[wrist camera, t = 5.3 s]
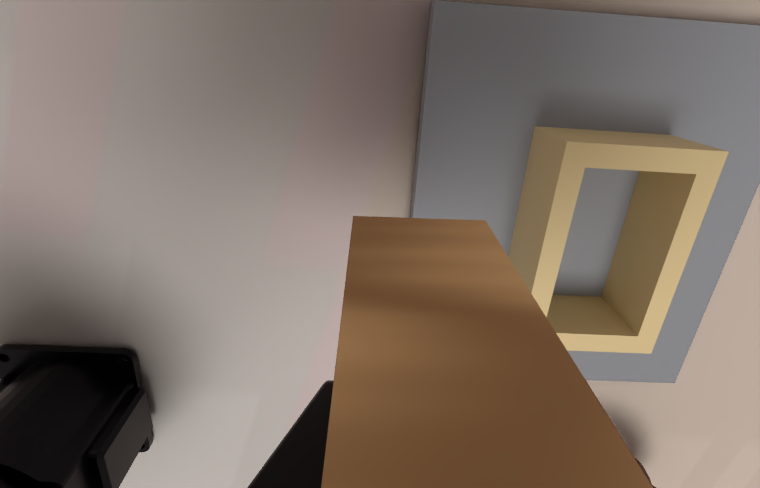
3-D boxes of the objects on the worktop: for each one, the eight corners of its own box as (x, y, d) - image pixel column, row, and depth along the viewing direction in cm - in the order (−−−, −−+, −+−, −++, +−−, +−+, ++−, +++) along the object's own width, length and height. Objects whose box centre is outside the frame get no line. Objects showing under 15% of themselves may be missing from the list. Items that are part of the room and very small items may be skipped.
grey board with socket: (395, 360, 22) (401, 420, 19) (431, 2, 16) (449, -11, 12) (662, 369, 23) (717, 430, 20) (799, 31, 17) (920, 26, 13)
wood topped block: (350, 415, 10) (311, 1005, 4) (352, 215, 8) (281, 785, 2) (456, 417, 10) (585, 1003, 4) (486, 220, 8) (840, 781, 2)
